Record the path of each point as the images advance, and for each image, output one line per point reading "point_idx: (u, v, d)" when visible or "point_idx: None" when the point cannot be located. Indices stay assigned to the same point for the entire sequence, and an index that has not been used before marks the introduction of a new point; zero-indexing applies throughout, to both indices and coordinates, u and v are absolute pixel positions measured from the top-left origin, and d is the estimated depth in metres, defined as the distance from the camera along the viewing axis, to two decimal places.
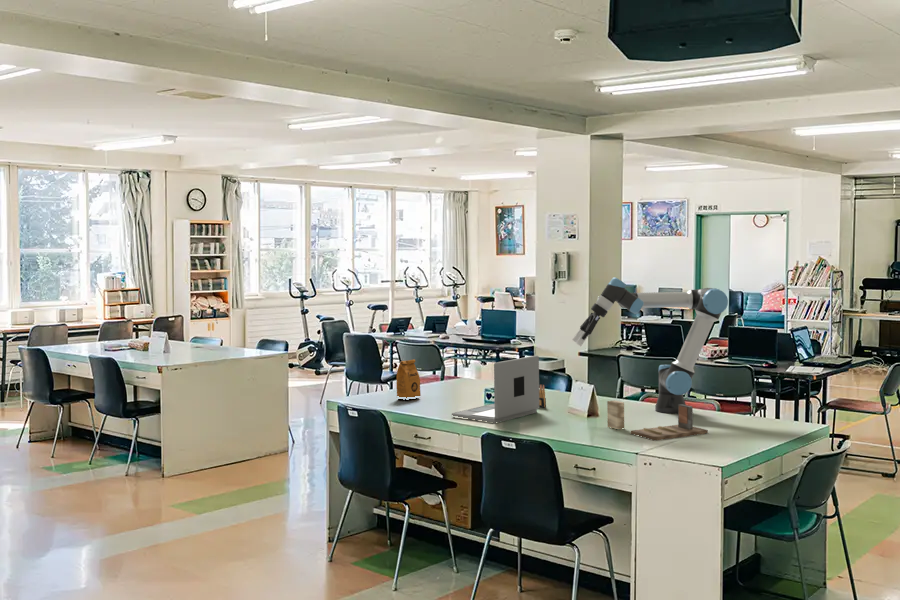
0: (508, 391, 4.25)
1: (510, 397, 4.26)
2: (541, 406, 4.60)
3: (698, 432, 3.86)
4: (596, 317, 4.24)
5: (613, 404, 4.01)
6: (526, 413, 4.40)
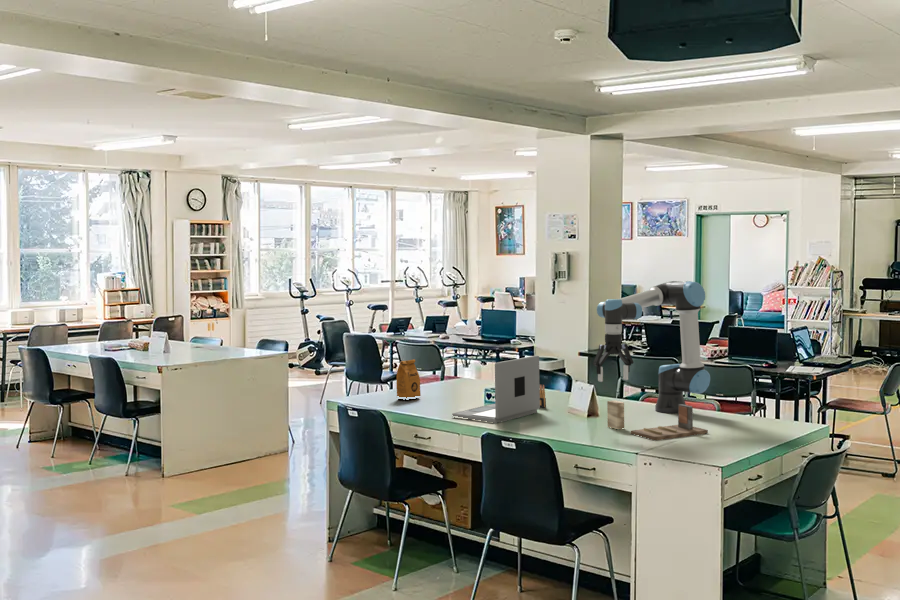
0: (509, 391, 4.25)
1: (511, 397, 4.26)
2: (541, 406, 4.60)
3: (698, 432, 3.86)
4: None
5: (613, 404, 4.01)
6: (526, 413, 4.39)
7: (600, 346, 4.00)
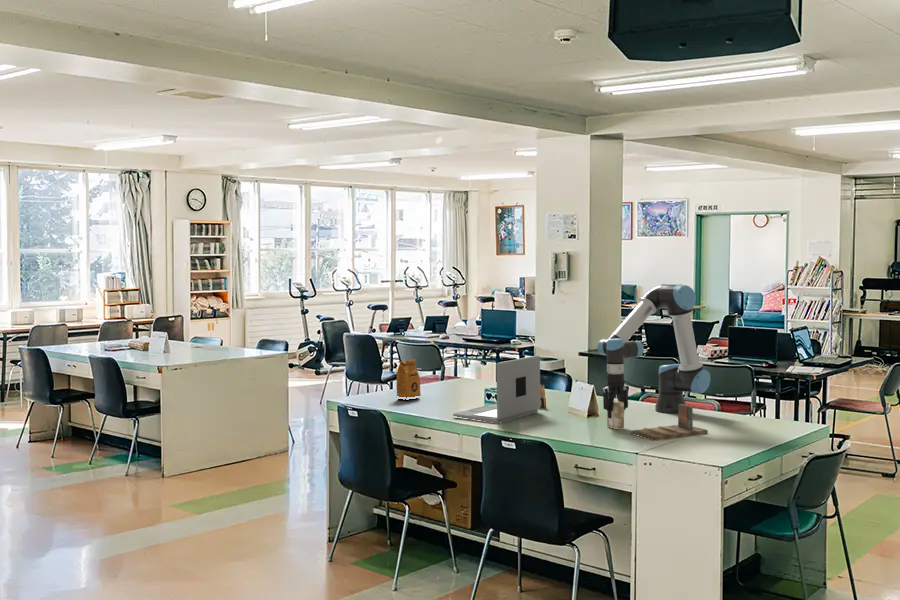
0: (510, 391, 4.24)
1: (512, 397, 4.25)
2: (541, 406, 4.60)
3: (698, 432, 3.86)
4: None
5: (613, 404, 4.01)
6: (527, 413, 4.39)
7: (603, 390, 4.00)
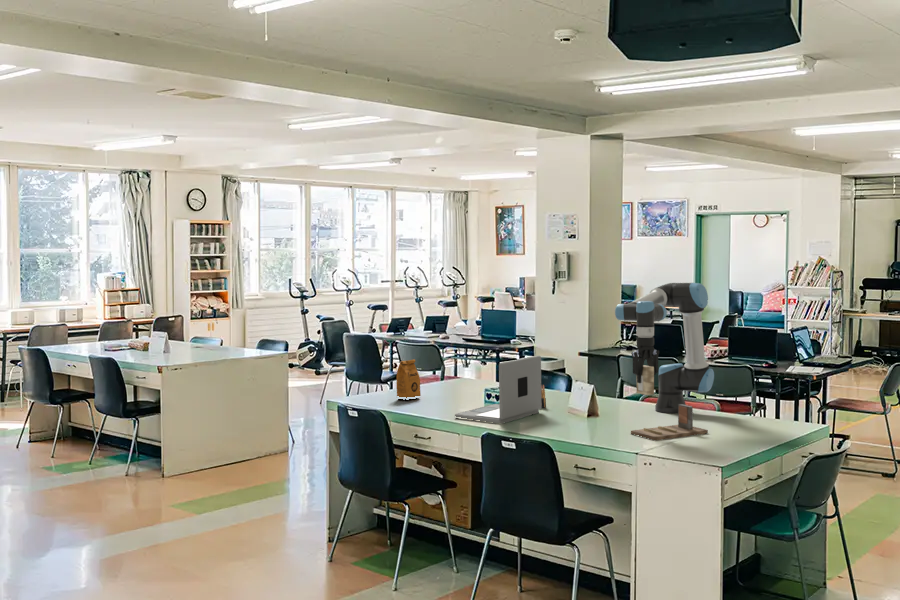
0: (512, 391, 4.23)
1: (514, 397, 4.25)
2: (541, 406, 4.60)
3: (698, 432, 3.86)
4: None
5: None
6: (529, 413, 4.39)
7: (633, 354, 3.87)
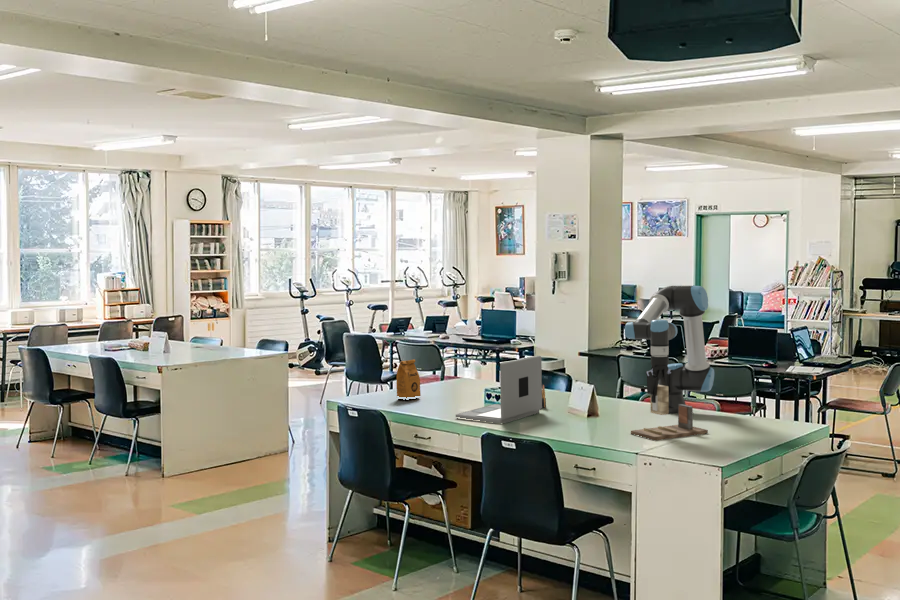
0: (513, 391, 4.23)
1: (515, 397, 4.24)
2: None
3: (698, 432, 3.86)
4: None
5: (657, 388, 3.84)
6: (529, 413, 4.38)
7: (647, 373, 3.83)
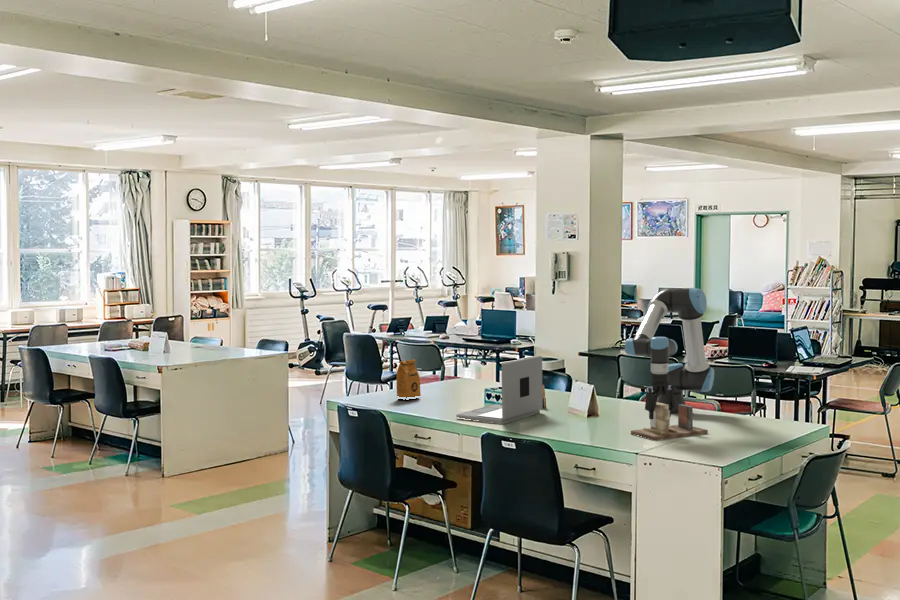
0: (515, 392, 4.23)
1: (516, 398, 4.24)
2: None
3: (698, 432, 3.86)
4: None
5: (657, 407, 3.84)
6: (530, 413, 4.38)
7: (647, 390, 3.83)
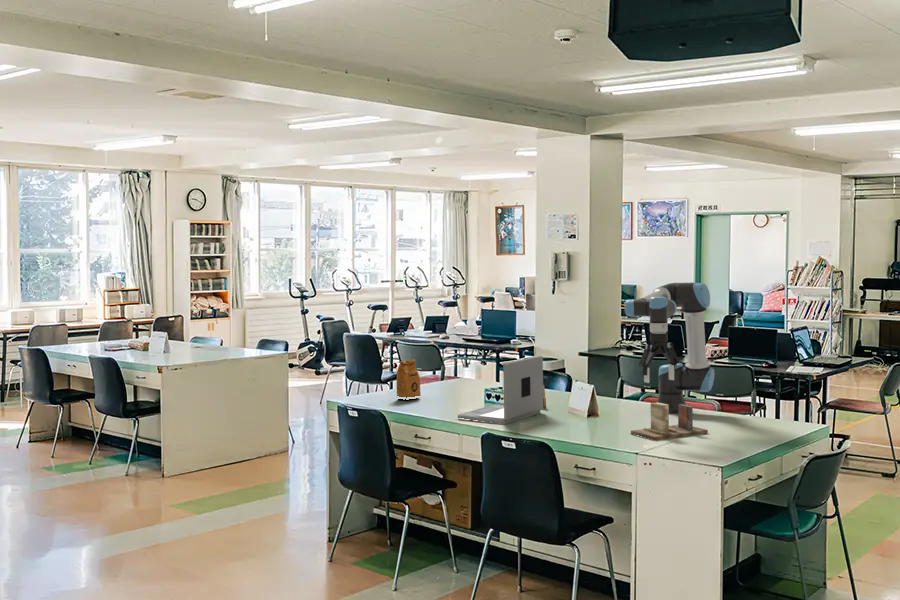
0: (516, 392, 4.22)
1: (518, 398, 4.24)
2: None
3: (698, 432, 3.86)
4: None
5: (657, 407, 3.84)
6: (531, 414, 4.38)
7: (646, 346, 3.85)
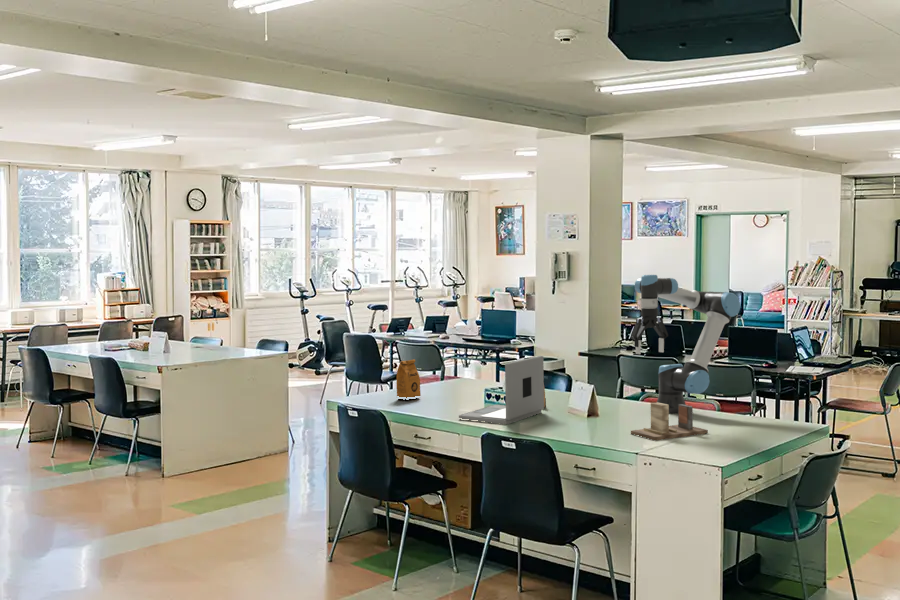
0: (518, 392, 4.22)
1: (519, 398, 4.23)
2: None
3: (698, 432, 3.86)
4: None
5: (657, 407, 3.84)
6: (532, 414, 4.38)
7: (637, 320, 4.15)
